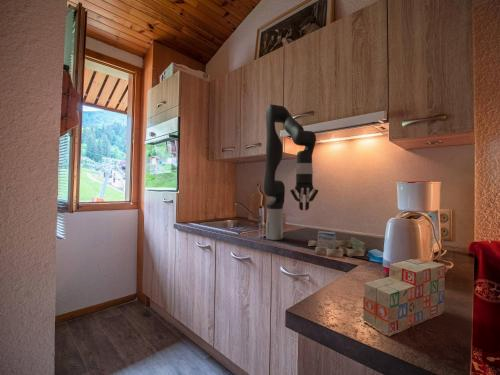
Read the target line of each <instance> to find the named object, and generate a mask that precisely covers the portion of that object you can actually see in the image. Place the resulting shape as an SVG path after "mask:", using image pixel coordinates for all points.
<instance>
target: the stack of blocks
mask: <svg viewBox="0 0 500 375" xmlns="http://www.w3.org/2000/svg"><path fill="white" fill-rule="evenodd" d="M445 272H446V265H445V264H443V263H439V262H435V261H431V260H427V259H423V258H419V257H417V259H409V260H405V261H401V262H397V263H393V264H390V265H389V273H388V274H389V276H386V277H384V278H380V279H379V278H378V279H376V280H372V281H368V282H365V283H364V286H363V302H362V303H363V304H362V306H363V307H362V308H363V310H362V313H363V314H362V315H363V316H362V321H363V320H364V321H366V322H368V323H370V324H372V325H373V326H375V327H377V328H379V329H380V330H382V331H384V332H386V333H388V334H389V333H390V332H392V331H395V330H399V329H402V328H404V327H406V326H408V325H410V324H412V323H415V322H416V321H417V322H418V321H420V320H423V319H426V318H428V317H431V316H432V315H435V314H439V313H441V312H443V311H444V312H445V288H446V276H445V274H446V273H445Z"/></svg>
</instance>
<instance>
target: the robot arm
mask: <svg viewBox="0 0 500 375" xmlns="http://www.w3.org/2000/svg"><path fill="white" fill-rule="evenodd" d="M265 122H266V123H265V124H266V125H265V126H266V127H265V128H266V147H265V149H266V150H265V159H266V160H265V175H264V182H263V191H264V194H265V196H267V197H272V198H271V200H270V201H269V202H267V203H266V222H265V237H266V240H273V241H279V240H283V238H284V237H283V234H284V233H283V231H284V230H283V229H284V228H283V227H284V226H283V225H284V224H283V223H284V219H283V218H284V215H283V214H284V213H283V212H284V210H283V209H284V208H283V207H284V204H285V193H286V188H285V183H284V181H282V180H277V179H275V178H276V172H277V169H278V167H279V165H280V163H281V162H282V158H283V142H282V140H281V138H280V136H279V134H278V133H277V130H276V124H277V123H279V124H280V123H281V124H284V125H283V126H284V130H285V132H286V133H287V134H288V135H289V136H290V137H291V140H292V141H293V143H294V144H295V145H296V146H302V147H304V149H303V150H299V151H297V153H296V167H295V168H296V169H295V187H294V188H292V189H290V193H291V195H292V197H293V199H294V200H295V201H296V202H298V203H299V204H298V205H299V206H298V209H299V210H300V211H303V210H305V211H308V210H309V209H310V202H313V201H314V199H315V198H316V196H317V195H318V194H319V190H318V189H316V188H314V184H313V176H314V175H313V173H314V170H313V153H314V150H315V146H316V143H317V136H316V134H315V133H316V132H314V131H312V130H304V129H305V128H304V127H303V125H302V124H300V123H299V121H296V120H295V119H294V118H293V116H292V115H291V113H290V112H289V110H288V109H287V108H286V107H285V106H283V105H278V104H269V105H267V106H266V110H265ZM311 192H312V194H311ZM297 193H298V196H297ZM310 194H311V195H310ZM304 198H305V203H304V202H303V201H304ZM304 204H305V205H304Z"/></svg>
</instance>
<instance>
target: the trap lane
mask: <svg viewBox="0 0 500 375" xmlns="http://www.w3.org/2000/svg"><path fill="white" fill-rule="evenodd" d="M307 246H317V247H315V255H321V256H322V255H325V256H327V257H329V258H330V257H331V258H334V257H335V258H336V257H337V258H338V257H340V258H342V257H344V255H343V254H346V255H345V256H347V257H350V258H352V256H364V257H365V255H366V243H365V242H363V241H361V240H359V238H356V237H353V236H350V240H336V249H328V248H326V247H318V240H308V245H307ZM337 248H338V249H337ZM349 248H351V249H349ZM364 254H365V255H364Z"/></svg>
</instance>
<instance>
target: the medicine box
mask: <svg viewBox="0 0 500 375" xmlns="http://www.w3.org/2000/svg"><path fill="white" fill-rule="evenodd" d="M317 241H318V247H326V248H328V249H337V247H336V241H337V232H333V231H323V230H319V231H318V232H317Z"/></svg>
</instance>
